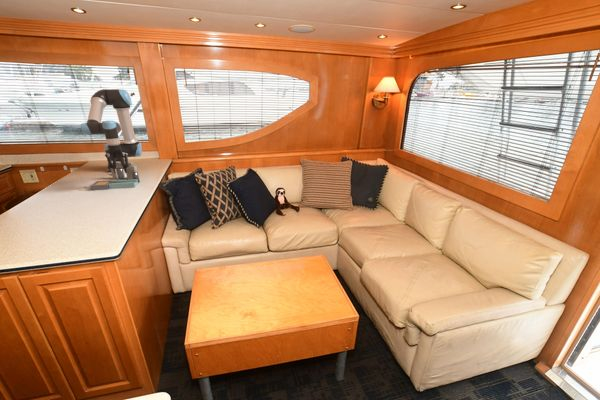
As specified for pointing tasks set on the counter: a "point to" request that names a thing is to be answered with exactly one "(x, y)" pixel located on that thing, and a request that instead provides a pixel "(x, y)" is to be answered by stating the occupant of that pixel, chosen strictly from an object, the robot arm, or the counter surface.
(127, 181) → the trough
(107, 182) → the orange square tile
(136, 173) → the cell
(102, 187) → the grey square tray
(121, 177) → the cell
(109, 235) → the counter surface
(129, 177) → the geiger counter
